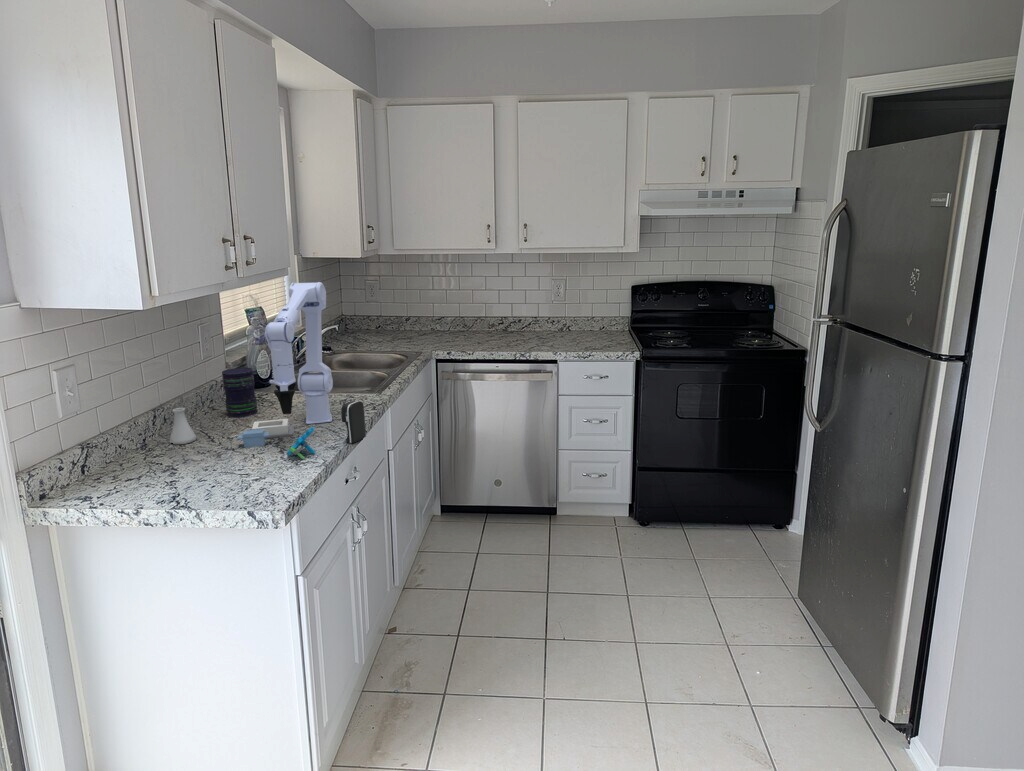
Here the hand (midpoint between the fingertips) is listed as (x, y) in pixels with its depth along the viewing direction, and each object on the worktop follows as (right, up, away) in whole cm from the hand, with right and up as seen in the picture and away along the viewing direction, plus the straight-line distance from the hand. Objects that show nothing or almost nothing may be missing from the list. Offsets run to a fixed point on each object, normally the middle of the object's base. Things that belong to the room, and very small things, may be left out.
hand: (287, 410), depth 201 cm
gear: (+7, -12, -9) cm, 16 cm away
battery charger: (+19, -9, +3) cm, 21 cm away
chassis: (-9, -7, +12) cm, 17 cm away
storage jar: (-27, -3, +36) cm, 45 cm away
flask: (-33, -10, +7) cm, 35 cm away
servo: (-10, -10, +2) cm, 14 cm away
